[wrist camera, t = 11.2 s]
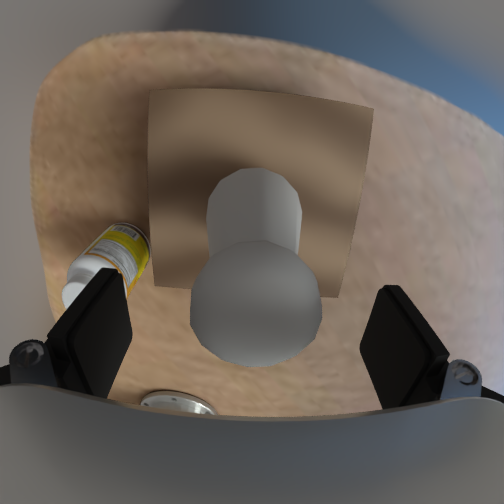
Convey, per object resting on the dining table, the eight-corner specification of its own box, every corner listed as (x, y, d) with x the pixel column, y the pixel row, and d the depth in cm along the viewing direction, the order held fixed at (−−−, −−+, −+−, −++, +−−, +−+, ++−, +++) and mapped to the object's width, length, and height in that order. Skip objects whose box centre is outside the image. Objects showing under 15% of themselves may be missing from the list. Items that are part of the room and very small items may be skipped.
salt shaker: (286, 247, 22) (318, 397, 10) (208, 236, 21) (163, 381, 10) (303, 168, 19) (379, 261, 7) (217, 155, 19) (158, 229, 7)
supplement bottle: (117, 274, 30) (75, 336, 21) (96, 228, 27) (41, 280, 18) (160, 263, 29) (127, 329, 20) (140, 213, 27) (92, 265, 18)
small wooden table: (323, 263, 29) (337, 297, 24) (171, 252, 28) (154, 285, 23) (347, 108, 22) (373, 108, 17) (172, 94, 22) (149, 89, 16)
